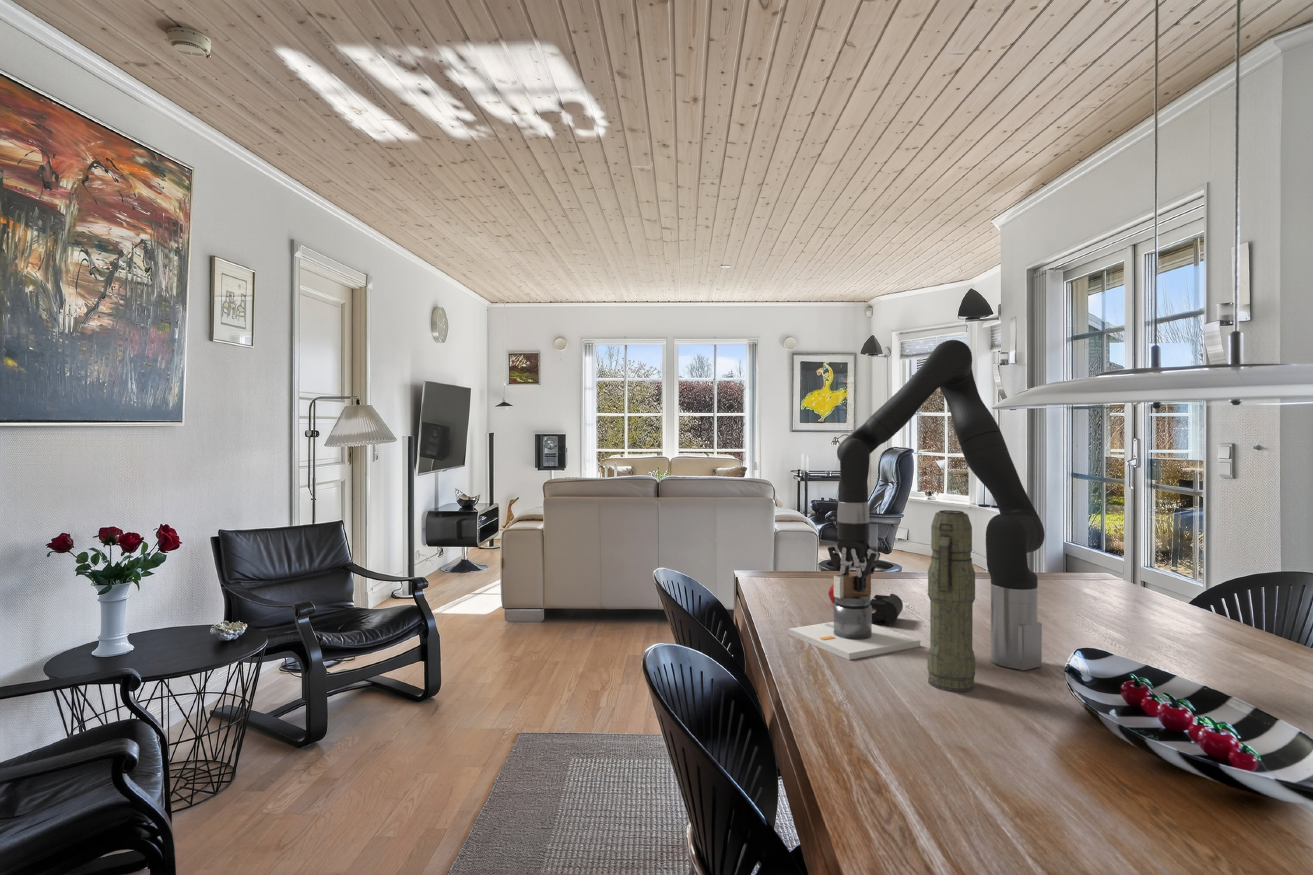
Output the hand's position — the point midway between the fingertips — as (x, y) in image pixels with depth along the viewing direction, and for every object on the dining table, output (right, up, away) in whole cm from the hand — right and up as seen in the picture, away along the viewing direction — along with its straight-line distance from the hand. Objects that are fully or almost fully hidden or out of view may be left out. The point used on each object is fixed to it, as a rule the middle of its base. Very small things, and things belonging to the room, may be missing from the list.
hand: (853, 589), depth 173 cm
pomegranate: (+7, -12, +34) cm, 37 cm away
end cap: (+14, -12, +17) cm, 25 cm away
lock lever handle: (0, -3, 0) cm, 3 cm away
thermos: (+11, -13, -30) cm, 35 cm away
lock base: (0, -12, 0) cm, 12 cm away
